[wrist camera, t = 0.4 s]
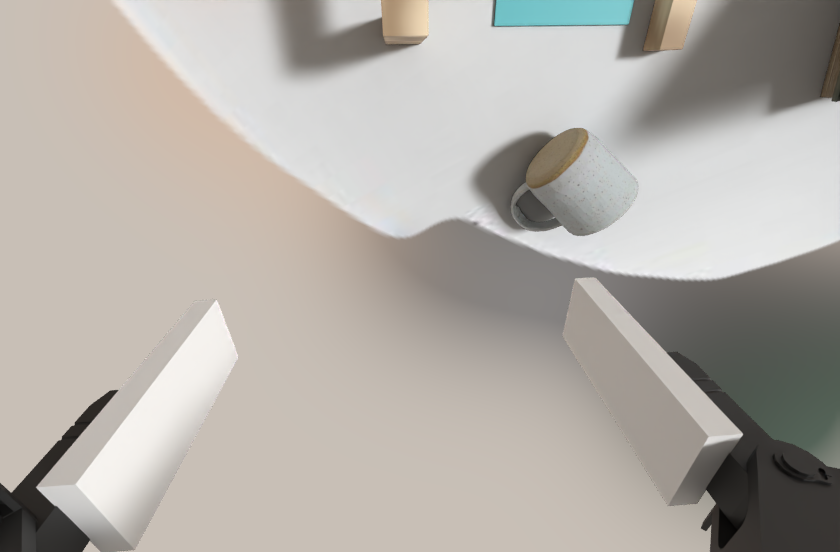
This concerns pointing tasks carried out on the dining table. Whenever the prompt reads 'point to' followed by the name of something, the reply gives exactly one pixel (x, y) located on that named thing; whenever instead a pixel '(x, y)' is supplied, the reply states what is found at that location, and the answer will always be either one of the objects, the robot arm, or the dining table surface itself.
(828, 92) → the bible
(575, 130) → the ceramic mug
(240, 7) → the dining table surface
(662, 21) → the stopper
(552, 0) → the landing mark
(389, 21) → the bridge
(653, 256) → the dining table surface
